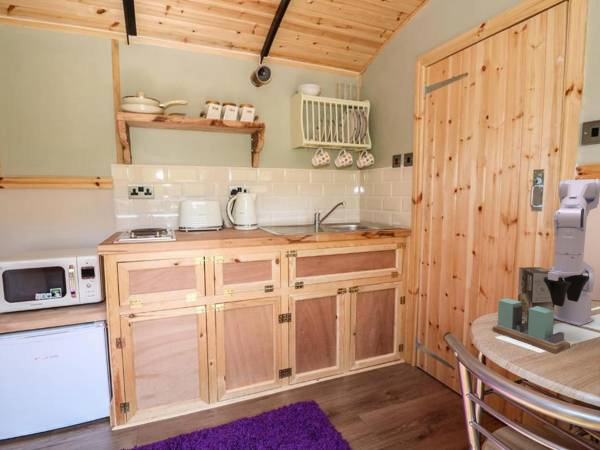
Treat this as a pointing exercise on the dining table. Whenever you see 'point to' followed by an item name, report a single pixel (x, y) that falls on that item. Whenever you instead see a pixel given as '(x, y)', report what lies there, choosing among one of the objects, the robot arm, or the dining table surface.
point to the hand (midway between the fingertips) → (565, 303)
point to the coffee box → (533, 289)
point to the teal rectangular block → (540, 322)
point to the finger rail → (524, 328)
